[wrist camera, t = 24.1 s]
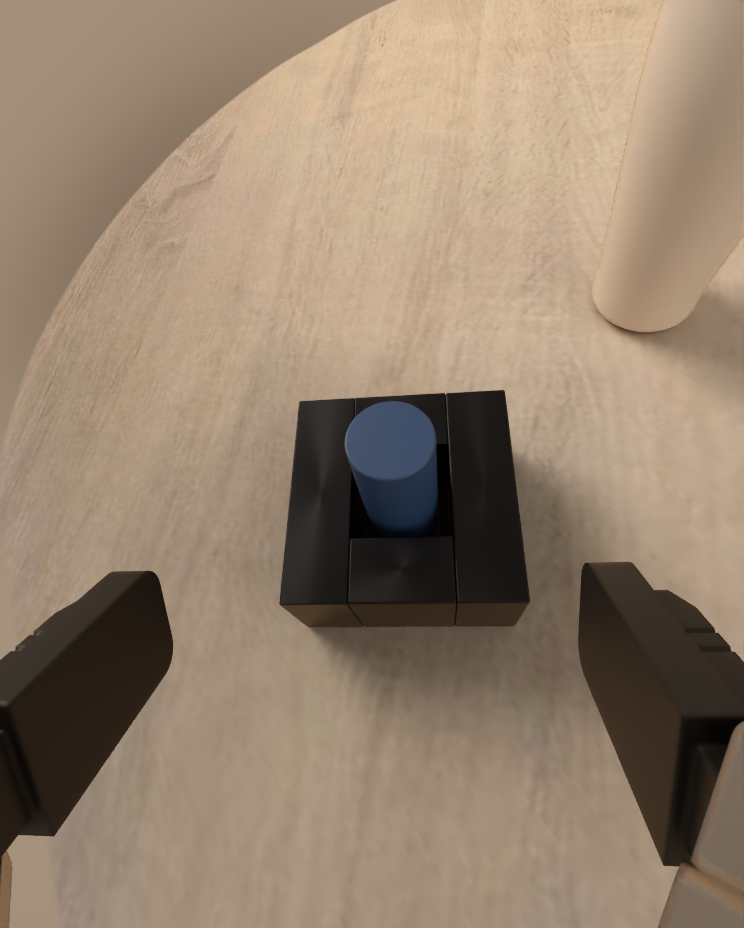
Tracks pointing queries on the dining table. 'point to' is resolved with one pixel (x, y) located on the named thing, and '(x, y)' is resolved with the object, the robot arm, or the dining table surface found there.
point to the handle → (395, 469)
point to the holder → (406, 558)
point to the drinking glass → (678, 170)
